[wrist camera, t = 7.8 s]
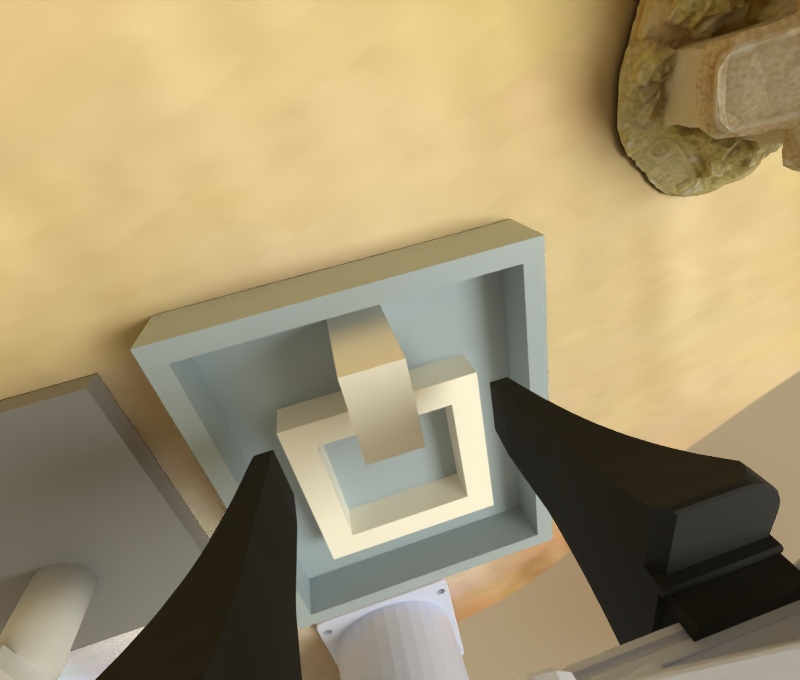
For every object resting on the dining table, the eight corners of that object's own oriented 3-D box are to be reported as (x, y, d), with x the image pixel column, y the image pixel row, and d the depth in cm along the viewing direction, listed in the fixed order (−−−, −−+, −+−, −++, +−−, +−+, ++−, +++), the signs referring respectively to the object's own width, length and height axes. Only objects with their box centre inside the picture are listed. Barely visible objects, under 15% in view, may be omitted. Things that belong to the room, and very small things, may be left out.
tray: (529, 502, 25) (552, 539, 23) (298, 581, 23) (300, 629, 21) (510, 219, 17) (544, 235, 14) (152, 316, 15) (129, 349, 13)
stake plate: (235, 576, 22) (222, 692, 18) (10, 652, 21) (-62, 795, 17) (97, 373, 16) (23, 475, 11) (-239, 467, 14) (-467, 621, 10)
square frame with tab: (481, 482, 22) (522, 560, 18) (331, 532, 21) (341, 625, 17) (452, 278, 16) (503, 329, 13) (244, 336, 16) (231, 409, 12)
